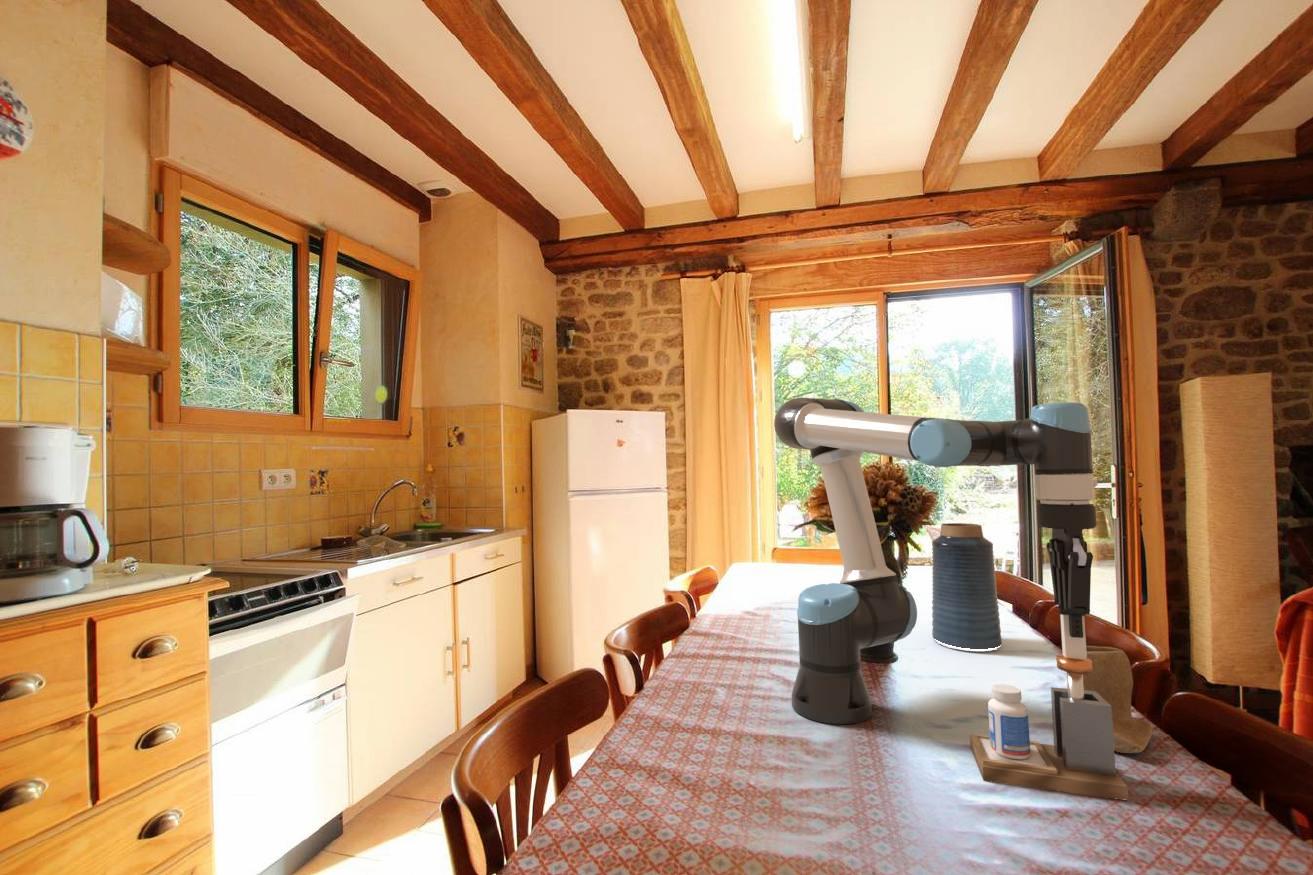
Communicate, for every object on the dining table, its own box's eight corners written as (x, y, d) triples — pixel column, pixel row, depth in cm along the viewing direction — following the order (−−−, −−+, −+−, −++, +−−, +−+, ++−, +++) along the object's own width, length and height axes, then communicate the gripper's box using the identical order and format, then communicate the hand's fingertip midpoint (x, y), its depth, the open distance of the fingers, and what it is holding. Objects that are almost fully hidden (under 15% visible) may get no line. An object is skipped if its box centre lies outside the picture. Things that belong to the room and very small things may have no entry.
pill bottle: (1038, 755, 90) (1034, 690, 90) (1017, 763, 87) (1014, 697, 88) (1003, 740, 95) (1000, 679, 95) (982, 748, 92) (979, 686, 93)
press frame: (1066, 770, 86) (1063, 701, 86) (1054, 751, 91) (1050, 687, 92) (1115, 776, 84) (1111, 706, 84) (1099, 757, 89) (1095, 691, 90)
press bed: (983, 780, 87) (982, 762, 87) (970, 747, 97) (969, 731, 98) (1128, 801, 81) (1127, 782, 81) (1098, 763, 91) (1097, 746, 92)
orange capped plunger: (1066, 740, 87) (1061, 661, 87) (1056, 728, 91) (1052, 652, 91) (1101, 744, 85) (1096, 664, 86) (1090, 731, 89) (1085, 655, 90)
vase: (1015, 653, 146) (1009, 527, 148) (950, 653, 146) (945, 528, 148) (980, 634, 162) (975, 521, 164) (922, 635, 162) (917, 522, 164)
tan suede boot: (1077, 713, 110) (1072, 633, 111) (1159, 733, 101) (1153, 646, 102) (1054, 739, 100) (1049, 650, 101) (1143, 764, 91) (1137, 667, 92)
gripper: (1111, 504, 83) (1122, 673, 81) (1078, 500, 95) (1088, 646, 93) (1049, 504, 85) (1059, 668, 84) (1026, 500, 97) (1034, 642, 96)
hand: (1074, 656), depth 89 cm, fingers closed
